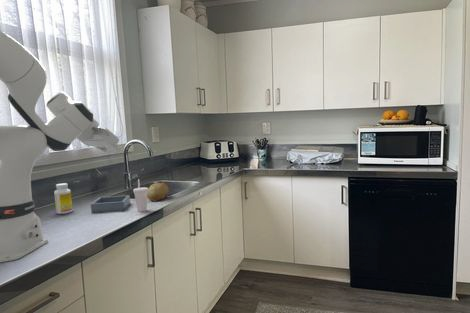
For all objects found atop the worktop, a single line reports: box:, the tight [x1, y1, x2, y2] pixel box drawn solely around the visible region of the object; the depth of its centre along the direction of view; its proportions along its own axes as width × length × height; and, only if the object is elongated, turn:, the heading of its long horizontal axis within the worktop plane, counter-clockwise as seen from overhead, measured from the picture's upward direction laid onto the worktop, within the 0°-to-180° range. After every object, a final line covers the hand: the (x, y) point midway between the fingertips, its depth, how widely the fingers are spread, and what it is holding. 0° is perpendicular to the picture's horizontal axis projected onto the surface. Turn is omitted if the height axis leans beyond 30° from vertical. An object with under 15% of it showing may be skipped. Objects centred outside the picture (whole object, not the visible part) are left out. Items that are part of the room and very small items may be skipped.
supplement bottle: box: [53, 182, 74, 215], centre depth 155 cm, size 7×7×13 cm
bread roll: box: [147, 182, 170, 202], centre depth 175 cm, size 10×15×8 cm, turn 172°
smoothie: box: [132, 178, 149, 213], centre depth 152 cm, size 6×6×14 cm
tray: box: [90, 194, 131, 214], centre depth 159 cm, size 14×14×4 cm
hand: (111, 151), depth 140 cm, fingers open, 8 cm apart
